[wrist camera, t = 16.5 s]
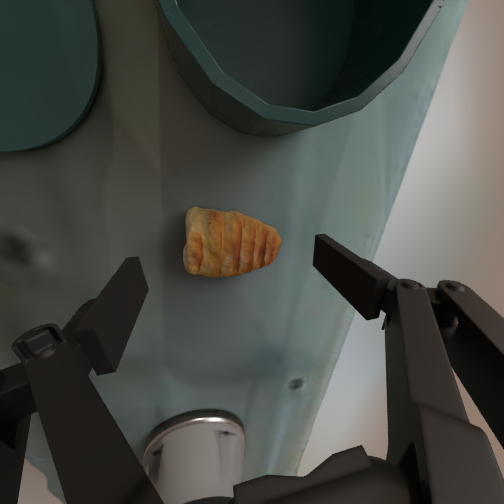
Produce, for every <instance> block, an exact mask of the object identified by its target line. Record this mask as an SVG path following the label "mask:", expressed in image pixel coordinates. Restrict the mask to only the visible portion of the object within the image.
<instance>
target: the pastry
mask: <svg viewBox="0 0 504 504" xmlns="http://www.w3.org/2000/svg"><path fill="white" fill-rule="evenodd" d="M185 225H186V238H187V243H186V245H185V247H184V250H183V262H184V264H185V269H186V270H187V271H188V272H189V273H191V274H200V275H204V276H208V277H213V278H214V277H221V276H230V277H232V276H235V275H241V274H243V273H247V272H251V271H252V270H255V269H259V268H262V267H264V266H267V265H269V264H271V263H272V262H273V260H274V259H275V258H276V256H277V253H278V251H279V248H280V247H281V244H282V240H281V238H280V236H279V235H278V233H277V232H276V230H275V229H274V228H273V227H271V226H269V225H266V224H264V223H262V222H261V221H259V220H258V219H255V218H252V217H248V216H246V215H244V214H242V213H240V212H238V211H229V212H225V211H220V210H215V209H202V208H199V207H192V208H190V209H189V210H188V211H187V214H186V222H185Z"/></svg>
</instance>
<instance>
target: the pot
mask: <svg viewBox="0 0 504 504" xmlns="http://www.w3.org/2000/svg"><path fill="white" fill-rule="evenodd" d="M443 1H444V0H154V3H155V6H156V10H157V13H158V16H159V19H160V22H161V25H162V28H163V30H164V33H165V36H166V38H167V41H168V44H169V47H170V50H171V53H172V55H173V57H174V60H175V63H176V65H177V68H178V71H179V73H180V75H181V77H182V78H183V79H184V81H185V82H186V83H187V85H188V86H189V88H190V89H191V91H192V92H193V93H194V95H195V96H196V97H197V99H198V100H199V101H200V102H201V103H202V104H203V105H204V107H205V108H206V109H207V110H208V112H210V113H211V114H213V115H214V116H215V117H217V118H218V119H219V120H221V121H222V122H224V123H225V124H227V125H229V126H231V127H233V128H234V129H236V130H239V131H240V132H243V133H248V134H253V135H260V136H273V137H277V136H280V135H284V134H288V133H292V132H296V131H299V130H303V129H307V128H311V127H315V126H318V125H320V124H323V123H326V122H329V121H332V120H334V119H337V118H340V117H343V116H346V115H348V114H351V113H354V112H357V111H360V110H361V109H363V108H364V107H365V106H366V105H367V104H368V103H369V102H370V101H371V100H373V99H374V98H375V97H376V96H377V95H378V94H379V93H380V92H381V91H382V90H384V89H385V88H386V87H387V86H388V85H389V84H390V83H391V82H392V81H393V80H395V79H396V78H397V77H398V76H399V75H400V74H401V73H402V72H403V71H404V69H405V68H406V66H407V65H408V63H409V61H410V60H411V58H412V56H413V55H414V53H415V51H416V50H417V48H418V46H419V45H420V43H421V41H422V40H423V38H424V36H425V35H426V33H427V31H428V30H429V28H430V26H431V25H432V23H433V21H434V19H435V18H436V16H437V14H438V13H439V11H440V8H441V7H442V4H443Z"/></svg>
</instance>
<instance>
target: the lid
mask: <svg viewBox="0 0 504 504" xmlns="http://www.w3.org/2000/svg"><path fill="white" fill-rule="evenodd" d="M101 65H102V44H101V35H100V26H99V21H98V16H97V11H96V6H95V2H94V0H0V152H19V151H28V150H33V149H37V148H41V147H44V146H47V145H49V144H51V143H54V142H56V141H58V140H59V139H61V138H62V137H64V136H66V135H67V134H69V133H70V132H71V131H72V130H73V129H74V128H75V127H76V126H77V125H78V124H79V123H80V122H81V121H82V119H83V118H84V116H85V115H86V114H87V112H88V110H89V108H90V106H91V104H92V102H93V100H94V98H95V95H96V91H97V88H98V85H99V80H100V73H101Z"/></svg>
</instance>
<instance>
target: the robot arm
mask: <svg viewBox="0 0 504 504" xmlns="http://www.w3.org/2000/svg"><path fill="white" fill-rule="evenodd" d="M313 266H314V267H315V268H316V269H317V270H318V271H319V272H320V273H321V274H322V275H323V276H324V277H325V278H326V279H327V280H328V281H329V282H330V283H331V284H332V286H333V287H334V288H335V289H336V290H337V291H338V292H339V293H340V294H341V295H342V296H343V297H344V298H345V299H346V300H347V301H348V302H349V303H350V304H351V305H352V306H353V307H354V308H355V309H356V310H357V311H358V312H359V313H360V314H361V315H362V316H363V317H364V318H365V319H366V320H371V319H376V318H378V317H379V314H380V311H381V310H382V311H383V312H385V313H386V316H385V319H384V323H383V326H382V330H384V328H385V351H386V381H387V382H386V383H387V415H388V452H387V458H386V460H384V459H381V458H378V457H373V456H368V455H367V454H366V452H365V450H364V448H363V446H362V445H360V446H357V447H354V448H350V449H347V450H345V451H341V452H338V453H335V454H332V455H331V456H330V457H329V458H327V459H326V460H325V461H324V462H322V463H321V464H320V465H319V466H318V467H316V468H315V469H314V470H313V471H312V472H310V473H309V474H308V475H306V476H304V477H296V476H279V475H265V476H262V477H258V478H255V479H252V480H249V481H246V482H243V483H241V479H242V468H243V458H244V448H245V435H244V428H243V424H242V421H241V420H240V419H239V418H238V417H237V416H236V415H234V414H232V413H229V412H226V411H222V410H199V411H193V412H189V413H185V414H182V415H179V416H177V417H174V418H172V419H170V420H168V421H166V422H165V423H163V424H162V425H160V426H159V427H158V428H156V429H155V430H154V431H153V432H152V433H151V435H150V436H149V438H148V439H147V442H146V446H145V451H144V456H143V467H142V465H141V464H140V462H139V460H138V459H137V457H136V455H135V454H134V452H133V450H132V449H131V447H130V445H129V444H128V442H127V440H126V439H125V437H124V435H123V434H122V432H121V430H120V429H119V427H118V425H117V424H116V422H115V420H114V419H113V417H112V415H111V414H110V412H109V410H108V409H107V407H106V405H105V404H104V402H103V400H102V399H101V397H100V395H99V394H98V392H97V390H96V388H95V387H94V385H93V383H92V382H91V380H90V378H89V377H88V375H89V373H90V371H91V369H92V367H93V369H94V371H95V372H96V374H97V376H98V375H103V374H108V373H113V372H116V369H117V367H118V364H119V362H120V359H121V357H122V355H123V352H124V350H125V347H126V345H127V342H128V340H129V337H130V335H131V332H132V330H133V327H134V325H135V322H136V320H137V317H138V315H139V312H140V310H141V307H142V305H143V302H144V300H145V298H146V295H147V293H148V290H149V289H148V285H147V282H146V279H145V276H144V273H143V269H142V266H141V263H140V260H139V257H130V258H126V259H125V261H124V262H123V263H122V265H121V266H120V267H119V269H118V270H117V271H116V273H115V274H114V275H113V277H112V278H111V279H110V281H109V282H108V284H107V285H106V286H105V288H104V289H103V290H102V292H101V293H100V294H99V296H98V297H97V298H96V299H91V300H89V301H88V302H86V303H85V304H83V305H82V306H81V307H80V308H79V309H78V311H77V312H76V313H75V315H74V316H73V317H72V318H71V321H69V322H68V323H67V324H66V326H65V327H64V328H63V329H62V331H61V330H60V328H59V327H58V326H57V325H56V324H46V325H41V326H39V327H36V328H33V329H31V330H30V331H28V332H26V333H24V334H23V335H21V336H20V337H19V338H17V340H16V341H15V342H14V343H13V344H12V350H13V351H14V352H15V353H16V355H17V356H18V357H19V359H20V360H21V361H22V362H21V363H19V364H16V365H13V366H11V367H8V368H5V369H3V370H0V504H17V502H18V496H19V490H20V483H21V477H22V471H23V464H24V458H25V452H26V445H27V439H28V433H29V426H30V420H31V414H32V413H35V412H37V411H38V412H39V415H40V419H41V422H42V425H43V428H44V431H45V435H46V438H47V441H48V444H49V448H50V451H51V454H52V457H53V461H54V464H55V467H56V470H57V473H58V477H59V480H60V483H61V486H62V490H63V493H64V496H65V499H66V502H67V504H504V479H503V476H502V474H501V471H500V468H499V466H498V463H497V460H496V458H495V455H494V452H493V450H492V447H491V444H490V442H489V440H488V438H487V436H486V433H485V432H484V431H483V430H482V429H481V428H479V427H477V426H475V425H472V424H471V423H470V422H469V419H468V417H467V414H466V411H465V407H464V404H463V401H462V398H461V396H460V392H459V389H458V386H457V383H456V380H455V377H454V374H453V371H452V368H453V370H454V371H455V373H456V375H457V376H458V378H459V379H460V381H461V383H462V384H463V386H464V387H465V389H466V391H467V392H468V394H469V395H470V397H471V398H472V400H473V402H474V403H475V405H476V406H477V407H478V409H479V411H480V412H481V414H482V416H483V417H484V419H485V421H486V422H487V424H488V425H489V427H490V428H491V430H492V432H493V433H494V435H495V436H496V438H497V440H498V441H499V442H500V444H501V446H502V447H503V449H504V318H503V317H502V316H501V315H500V314H498V313H497V312H496V311H495V310H494V309H493V308H492V307H491V306H489V305H488V304H487V303H486V302H485V301H484V300H483V299H481V297H479V296H478V295H477V294H476V293H475V292H474V291H473V290H471V289H470V288H469V287H467V286H466V285H464V284H461V283H460V282H456V281H450V280H442V281H439V283H438V285H437V288H425V287H424V286H423V285H422V284H421V283H418V282H416V281H414V280H410V279H397V278H395V277H394V276H393V275H391V274H390V273H388V272H386V271H385V270H382V268H380V267H379V266H377V265H376V264H374V263H373V262H371V261H368V260H366V259H363V258H360V257H359V256H357V255H356V254H354V253H353V252H351V251H350V250H348V249H347V248H345V247H344V246H342V245H341V244H339V243H338V242H336V241H335V240H333V239H332V238H330V237H329V236H327V235H326V234H318V235H315V245H314V256H313ZM457 322H458V324H457ZM451 367H452V368H451Z"/></svg>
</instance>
